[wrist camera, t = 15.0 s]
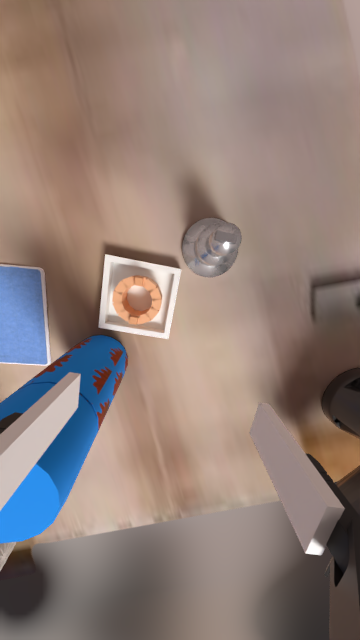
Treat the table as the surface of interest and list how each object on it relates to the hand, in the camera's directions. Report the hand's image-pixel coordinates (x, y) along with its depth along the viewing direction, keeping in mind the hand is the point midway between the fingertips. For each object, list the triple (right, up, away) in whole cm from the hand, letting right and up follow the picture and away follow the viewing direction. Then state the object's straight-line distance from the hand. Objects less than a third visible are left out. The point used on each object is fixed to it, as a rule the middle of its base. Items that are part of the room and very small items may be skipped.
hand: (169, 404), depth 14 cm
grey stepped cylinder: (+6, +19, +21) cm, 29 cm away
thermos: (-15, -2, +26) cm, 30 cm away
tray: (-7, +10, +23) cm, 26 cm away
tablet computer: (-31, +7, +23) cm, 39 cm away
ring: (-7, +10, +22) cm, 25 cm away
